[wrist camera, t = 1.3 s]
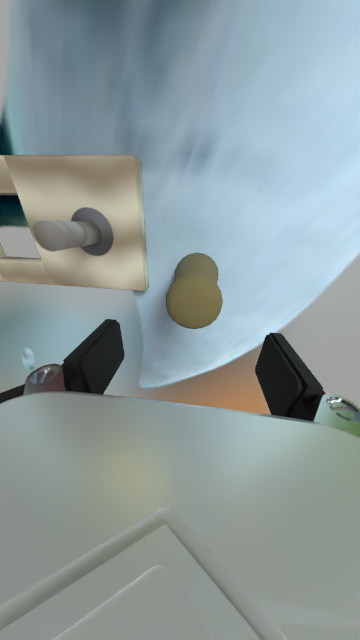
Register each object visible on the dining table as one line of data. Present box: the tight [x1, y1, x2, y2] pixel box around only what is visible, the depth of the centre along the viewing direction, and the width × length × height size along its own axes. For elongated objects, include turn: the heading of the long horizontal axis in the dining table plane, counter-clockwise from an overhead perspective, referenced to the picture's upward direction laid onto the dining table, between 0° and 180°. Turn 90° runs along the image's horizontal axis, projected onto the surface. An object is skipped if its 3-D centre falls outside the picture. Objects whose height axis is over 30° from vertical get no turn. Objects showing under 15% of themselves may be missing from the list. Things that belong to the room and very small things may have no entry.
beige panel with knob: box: [0, 155, 149, 291], centre depth 19 cm, size 14×24×9 cm, turn 89°
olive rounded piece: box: [166, 253, 223, 329], centre depth 19 cm, size 6×6×11 cm
